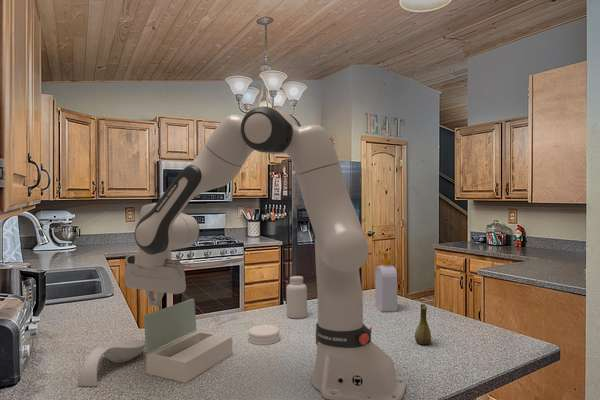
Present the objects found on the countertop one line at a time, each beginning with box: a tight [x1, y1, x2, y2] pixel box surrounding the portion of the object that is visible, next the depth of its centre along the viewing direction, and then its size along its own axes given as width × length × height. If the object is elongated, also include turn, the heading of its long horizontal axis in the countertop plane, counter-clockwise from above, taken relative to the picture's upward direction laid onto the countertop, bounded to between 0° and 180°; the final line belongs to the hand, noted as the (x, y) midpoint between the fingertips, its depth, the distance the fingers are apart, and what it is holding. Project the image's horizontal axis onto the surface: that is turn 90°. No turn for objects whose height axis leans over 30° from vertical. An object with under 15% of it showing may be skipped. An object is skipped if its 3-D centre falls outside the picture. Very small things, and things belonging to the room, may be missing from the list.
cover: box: [143, 298, 197, 353], centre depth 111 cm, size 10×19×1 cm
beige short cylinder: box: [247, 324, 281, 346], centre depth 126 cm, size 10×10×4 cm
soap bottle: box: [374, 252, 398, 313], centre depth 160 cm, size 9×7×23 cm
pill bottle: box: [285, 275, 308, 320], centre depth 151 cm, size 8×8×15 cm
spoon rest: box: [77, 339, 146, 388], centre depth 106 cm, size 24×12×7 cm, turn 178°
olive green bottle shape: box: [414, 303, 432, 345], centre depth 122 cm, size 6×5×12 cm
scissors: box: [204, 314, 239, 334], centre depth 142 cm, size 11×1×20 cm
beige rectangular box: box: [145, 330, 233, 384], centre depth 108 cm, size 13×20×5 cm, turn 155°
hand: (154, 306), depth 113 cm, fingers closed
